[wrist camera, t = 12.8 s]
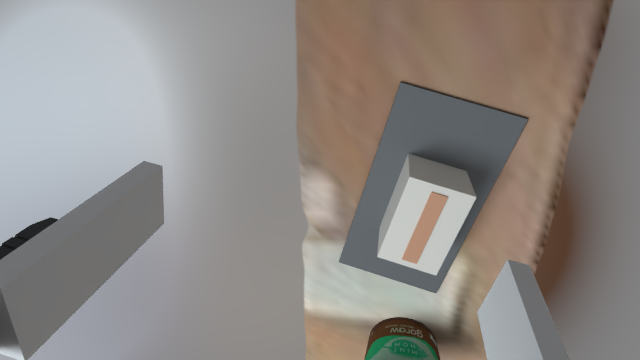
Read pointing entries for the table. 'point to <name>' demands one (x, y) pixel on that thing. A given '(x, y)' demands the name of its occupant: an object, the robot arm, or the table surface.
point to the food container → (401, 341)
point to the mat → (437, 145)
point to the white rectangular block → (424, 214)
